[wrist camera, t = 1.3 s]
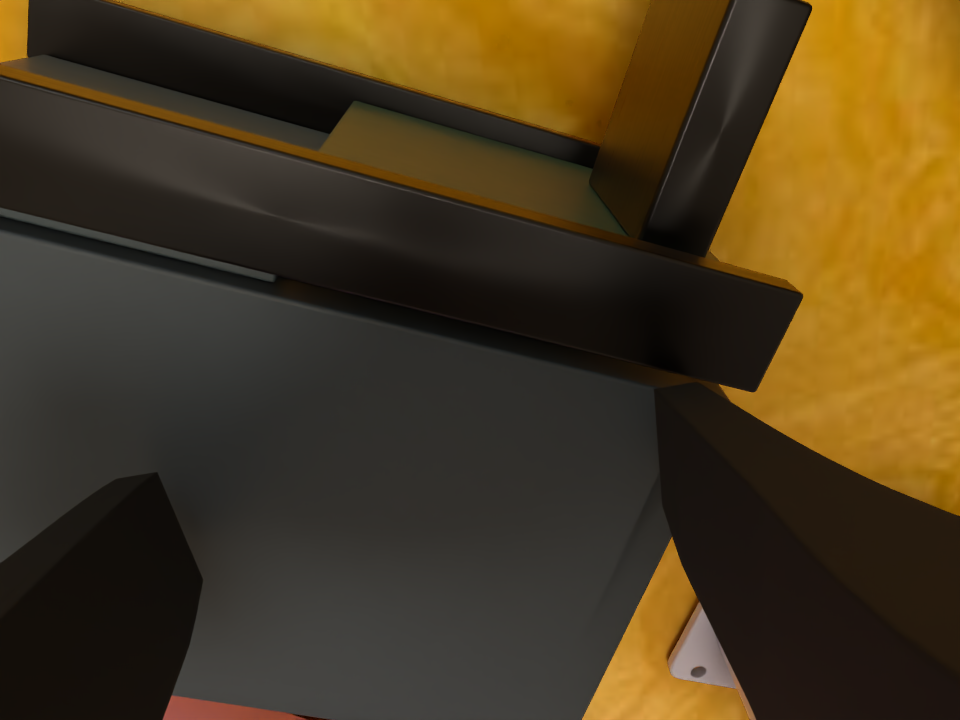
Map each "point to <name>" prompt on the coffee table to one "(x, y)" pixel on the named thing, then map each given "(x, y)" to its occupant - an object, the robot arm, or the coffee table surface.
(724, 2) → the sliding door
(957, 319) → the coffee table surface
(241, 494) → the cabinet
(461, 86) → the coffee table surface
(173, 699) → the teapot
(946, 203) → the coffee table surface
